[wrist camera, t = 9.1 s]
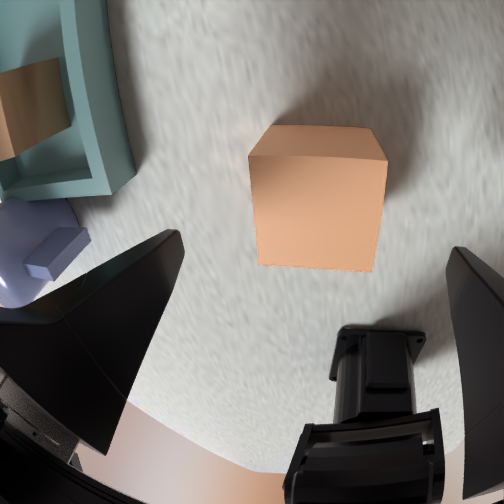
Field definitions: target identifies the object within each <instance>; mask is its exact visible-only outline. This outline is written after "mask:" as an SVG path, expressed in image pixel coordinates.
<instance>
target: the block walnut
mask: <svg viewBox="0 0 504 504" xmlns="http://www.w3.org/2000/svg"><path fill="white" fill-rule="evenodd" d="M69 127H71V124H70V119H69V115H68V110H67V106H66V101H65V96H64V91H63V85H62V79H61V73H60V67H59V61H58V57H57V58H53V59H48V60H44V61H40V62H36V63H32V64H29V65H25V66H22V67H18V68H15V69H12V70H8V71H5V72H2V73H0V161H3V160H6V159H9V158H13V157H16V156H17V155H19V154H21V153H22V152H24V151H26V150H27V149H29V148H31V147H33V146H35V145H36V144H38V143H40V142H42V141H44V140H46V139H47V138H49V137H51V136H53V135H55V134H57V133H59V132H61V131H63V130H65V129H67V128H69Z"/></svg>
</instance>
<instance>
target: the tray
mask: <svg viewBox="0 0 504 504" xmlns="http://www.w3.org/2000/svg"><path fill="white" fill-rule="evenodd" d="M57 57H58V61H59V67H60V73H61V79H62V85H63V91H64V96H65V101H66V106H67V110H68V115H69V119H70V124H71V127H69V128H67V129H65V130H63V131H61V132H59V133H57V134H55V135H53V136H51V137H49V138H47V139H46V140H44V141H42V142H40V143H38V144H36V145H35V146H33V147H31V148H29V149H27V150H26V151H24V152H22V153H21V154H19V155H17V156H16V157H13V158H9V159H6V160H3V161H0V199H1V201H2V202H3V201H4V200H6V199H7V198H9V197H11V196H16V197H19V198H22V199H24V200H25V201H33V200H44V199H55V198H68V197H82V196H98V195H112V194H113V193H115V192H116V191H117V190H118V189H119V188H121V187H122V186H123V185H124V184H125V183H127V182H128V181H129V180H130V179H132V178H133V177H134V176H135V175H136V171H135V166H134V162H133V158H132V154H131V150H130V145H129V141H128V136H127V132H126V127H125V122H124V117H123V113H122V107H121V102H120V97H119V91H118V86H117V80H116V74H115V68H114V61H113V55H112V48H111V40H110V32H109V24H108V15H107V5H106V0H0V73H2V72H5V71H8V70H12V69H15V68H18V67H22V66H25V65H29V64H32V63H36V62H40V61H44V60H48V59H53V58H57Z"/></svg>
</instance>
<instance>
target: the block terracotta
mask: <svg viewBox="0 0 504 504" xmlns="http://www.w3.org/2000/svg"><path fill="white" fill-rule="evenodd" d="M248 160H249V170H250V181H251V191H252V202H253V212H254V222H255V233H256V244H257V254H258V265H271V266H286V267H300V268H314V269H329V270H345V271H360V272H372V268H373V263H374V258H375V252H376V247H377V241H378V235H379V229H380V223H381V216H382V209H383V202H384V194H385V185H386V177H387V167H388V160H387V158H386V156H385V154H384V153H383V151H382V149H381V147H380V145H379V143H378V142H377V140H376V138H375V136H374V134H373V133H372V131H371V129H370V128H357V127H341V126H318V125H270V127H269V128H268V129H267V131H266V132H265V133H264V135H263V136H262V137H261V139H260V140H259V141H258V143H257V144H256V145H255V147H254V148H253V149H252V151H251V152H250V154H249V155H248Z"/></svg>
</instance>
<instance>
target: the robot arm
mask: <svg viewBox="0 0 504 504" xmlns="http://www.w3.org/2000/svg"><path fill="white" fill-rule="evenodd" d="M184 254H185V250H184V246H183V242H182V238H181V234H180V232H179V231H178V230H176V229H167V230H165V231H163V232H161V233H159V234H157V235H155V236H153V237H151V238H149V239H147V240H145V241H144V242H142V243H140V244H138V245H136V246H134V247H132V248H130V249H129V250H127V251H125V252H123V253H121V254H119V255H117V256H116V257H114V258H112V259H110V260H108V261H106V262H105V263H103V264H101V265H99V266H97V267H96V268H94V269H92V270H90V271H89V272H87V273H85V274H83V275H81V276H80V277H78V278H76V279H74V280H73V281H71V282H69V283H67V284H65V285H64V286H62V287H60V288H58V289H56V290H54V291H52V292H50V293H48V294H46V295H44V296H42V297H41V298H39V299H37V300H35V301H33V302H31V303H29V304H27V305H25V306H22V307H18V308H3V307H0V504H148V503H145V502H143V501H141V500H138V499H136V498H134V497H131V496H129V495H127V494H125V493H122V492H120V491H118V490H116V489H114V488H112V487H110V486H108V485H106V484H104V483H102V482H100V481H98V480H96V479H94V478H92V477H90V476H89V475H87V474H85V473H83V470H82V467H81V464H80V461H79V458H78V454H77V453H75V450H76V448H77V446H78V444H79V443H81V444H83V445H85V446H86V447H89V448H90V449H92V450H94V451H96V452H98V453H100V454H102V455H104V456H106V454H107V452H108V449H109V447H110V444H111V441H112V439H113V436H114V433H115V430H116V427H117V425H118V422H119V419H120V417H121V414H122V412H123V409H124V407H125V404H126V401H127V398H128V396H129V393H130V391H131V388H132V386H133V383H134V381H135V378H136V376H137V373H138V371H139V368H140V366H141V363H142V361H143V359H144V356H145V354H146V351H147V349H148V347H149V344H150V342H151V340H152V337H153V335H154V333H155V330H156V328H157V326H158V323H159V321H160V319H161V317H162V314H163V312H164V310H165V308H166V305H167V303H168V301H169V299H170V296H171V294H172V291H173V289H174V286H175V283H176V280H177V276H178V273H179V270H180V267H181V264H182V262H183V259H184ZM446 279H447V287H448V295H449V303H450V312H451V318H452V323H453V328H454V334H455V340H456V346H457V352H458V359H459V366H460V374H461V383H462V394H463V407H464V427H465V435H466V436H465V460H464V461H465V462H464V463H465V464H464V484H463V500H464V499H469V498H473V497H477V496H481V495H484V494H488V493H491V492H495V491H498V490H501V489H504V278H503V277H501V276H500V275H499V274H498V273H497V272H496V271H494V270H493V269H492V268H491V267H490V266H488V265H487V264H486V263H485V262H483V261H482V260H481V259H480V258H478V257H477V256H476V255H475V254H473V253H472V252H471V251H469V250H468V249H467V248H465V247H459V246H455V247H453V249H452V251H451V254H450V257H449V260H448V263H447V266H446ZM425 342H426V335H425V333H424V332H405V331H375V330H355V329H342V330H340V331H339V332H338V334H337V340H336V345H335V350H334V355H333V359H332V364H331V369H330V373H329V379H330V380H331V381H337V386H336V398H335V409H334V419H333V424H317V425H315V424H314V423H311V424H305V426H304V429H303V432H302V434H301V435H300V438H299V441H298V444H297V447H296V450H295V452H294V455H293V458H292V461H291V463H290V466H289V469H288V472H287V475H286V477H285V480H284V482H283V486H282V488H283V490H284V499H285V504H440V503H441V501H442V497H443V492H444V481H445V458H444V446H443V437H442V428H441V421H440V413H439V408H435V409H430V411H427V412H422V413H417V412H416V396H415V383H414V373H413V364H414V362H415V361H416V359H417V357H418V355H419V353H420V351H421V349H422V348H423V346H424V344H425ZM424 441H427V444H425V445H423V443H422V442H424ZM493 504H504V499H503V500H501V501H498V502H495V503H493Z"/></svg>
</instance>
